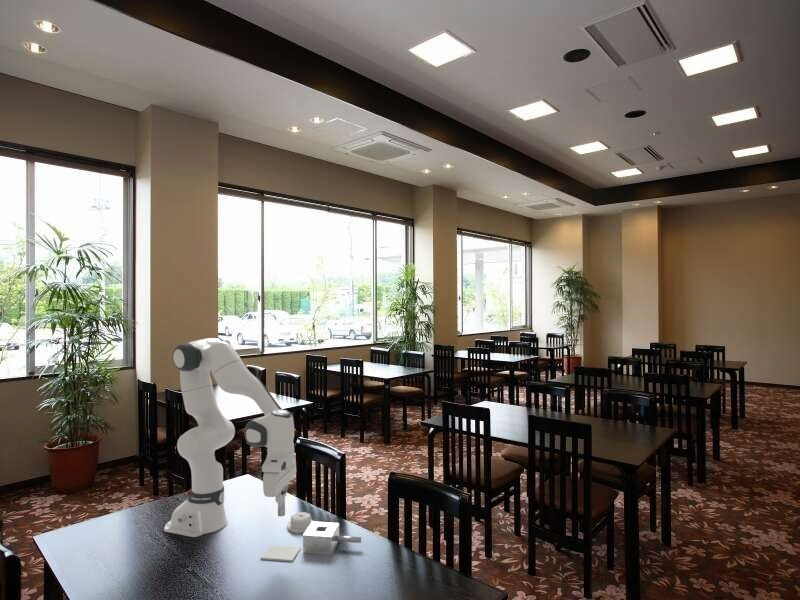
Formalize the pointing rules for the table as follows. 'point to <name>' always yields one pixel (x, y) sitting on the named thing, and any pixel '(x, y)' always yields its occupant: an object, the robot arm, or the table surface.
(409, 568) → the table surface
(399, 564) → the table surface
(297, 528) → the mechanical component
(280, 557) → the mat
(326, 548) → the block
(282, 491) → the grey capped cylinder
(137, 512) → the table surface
